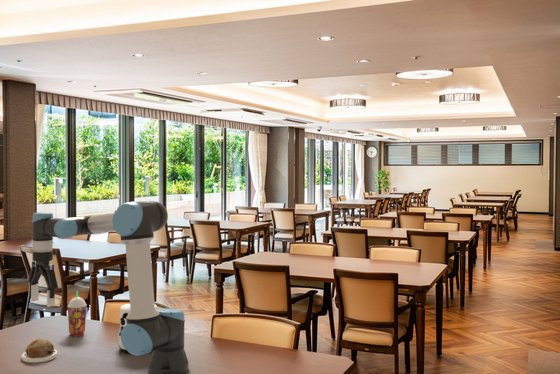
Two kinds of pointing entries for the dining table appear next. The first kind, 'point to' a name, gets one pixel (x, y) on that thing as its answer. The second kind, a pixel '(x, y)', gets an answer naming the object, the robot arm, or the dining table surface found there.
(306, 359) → the dining table surface
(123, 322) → the milk container
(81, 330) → the smoothie
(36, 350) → the bread roll
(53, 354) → the plate
